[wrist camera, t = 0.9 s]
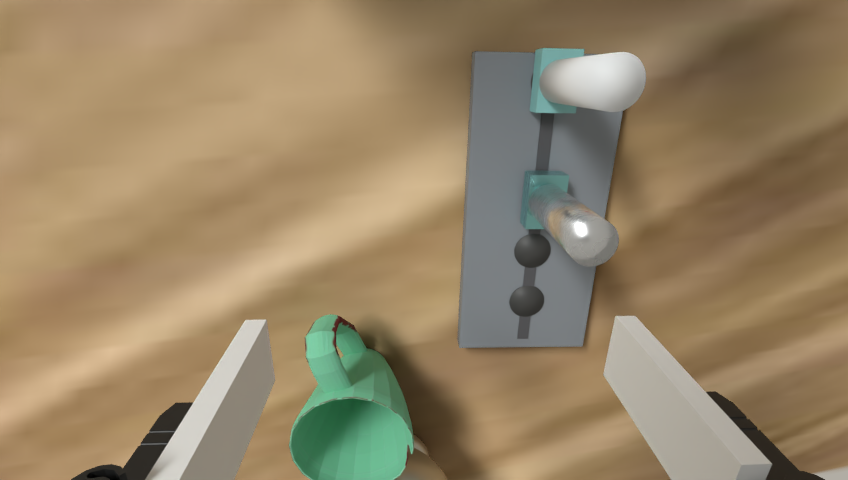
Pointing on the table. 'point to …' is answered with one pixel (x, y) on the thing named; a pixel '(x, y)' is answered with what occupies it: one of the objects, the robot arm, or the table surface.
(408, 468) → the teapot
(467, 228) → the grey and teal piece
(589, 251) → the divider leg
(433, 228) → the table surface
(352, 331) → the mug
